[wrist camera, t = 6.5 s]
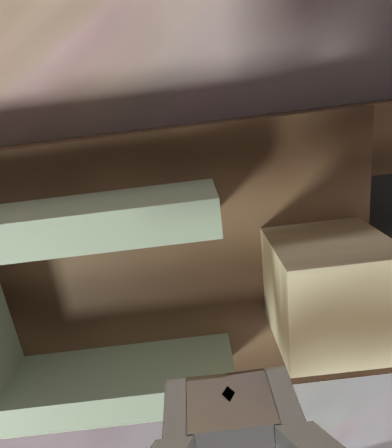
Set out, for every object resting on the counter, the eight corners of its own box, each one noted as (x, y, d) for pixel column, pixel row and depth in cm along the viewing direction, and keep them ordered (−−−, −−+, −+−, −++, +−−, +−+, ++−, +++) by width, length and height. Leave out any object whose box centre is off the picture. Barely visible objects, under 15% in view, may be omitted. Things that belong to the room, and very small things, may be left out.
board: (-55, 153, 18) (-101, 162, 15) (669, 65, 17) (764, 57, 14) (21, 377, 22) (-3, 418, 19) (598, 311, 22) (660, 342, 19)
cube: (260, 228, 16) (287, 271, 12) (358, 217, 16) (419, 256, 12) (265, 312, 18) (290, 378, 13) (354, 302, 18) (409, 365, 13)
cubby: (-59, 211, 16) (-126, 239, 12) (212, 178, 15) (219, 198, 12) (3, 383, 19) (-36, 443, 15) (230, 356, 18) (240, 412, 15)
